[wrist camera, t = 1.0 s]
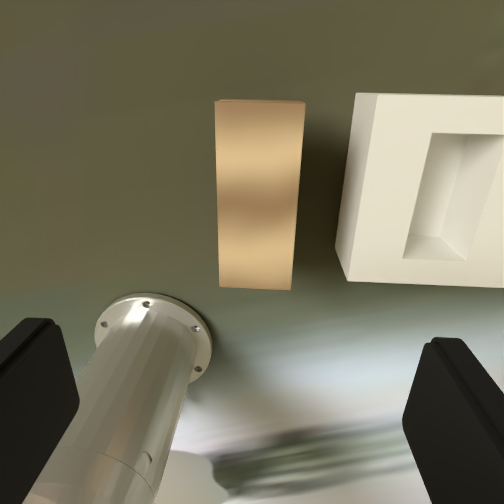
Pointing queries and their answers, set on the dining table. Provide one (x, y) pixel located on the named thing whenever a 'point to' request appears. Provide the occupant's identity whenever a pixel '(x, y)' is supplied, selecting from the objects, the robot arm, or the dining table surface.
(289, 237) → the tan brown rectangular block
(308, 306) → the dining table surface
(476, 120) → the white recessed tray
